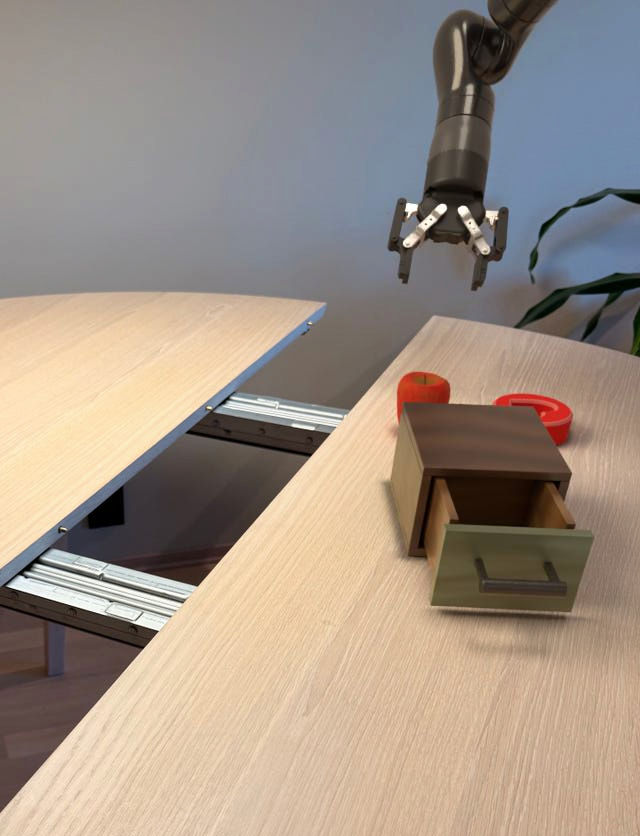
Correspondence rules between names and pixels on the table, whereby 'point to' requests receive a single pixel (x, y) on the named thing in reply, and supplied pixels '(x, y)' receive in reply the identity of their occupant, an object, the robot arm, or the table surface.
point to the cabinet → (467, 454)
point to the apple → (422, 389)
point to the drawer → (502, 544)
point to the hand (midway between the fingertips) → (440, 284)
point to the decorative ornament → (543, 412)
